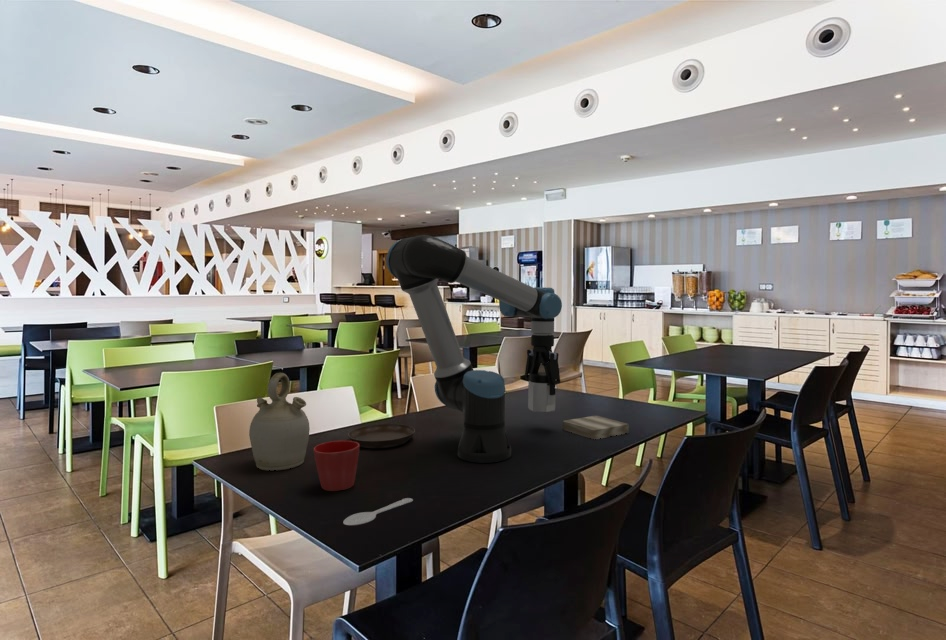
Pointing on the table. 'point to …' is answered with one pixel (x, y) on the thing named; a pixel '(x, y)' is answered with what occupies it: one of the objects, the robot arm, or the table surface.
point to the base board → (595, 427)
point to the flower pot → (337, 464)
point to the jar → (538, 393)
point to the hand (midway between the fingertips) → (541, 402)
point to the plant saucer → (381, 435)
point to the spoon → (372, 514)
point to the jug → (279, 429)
